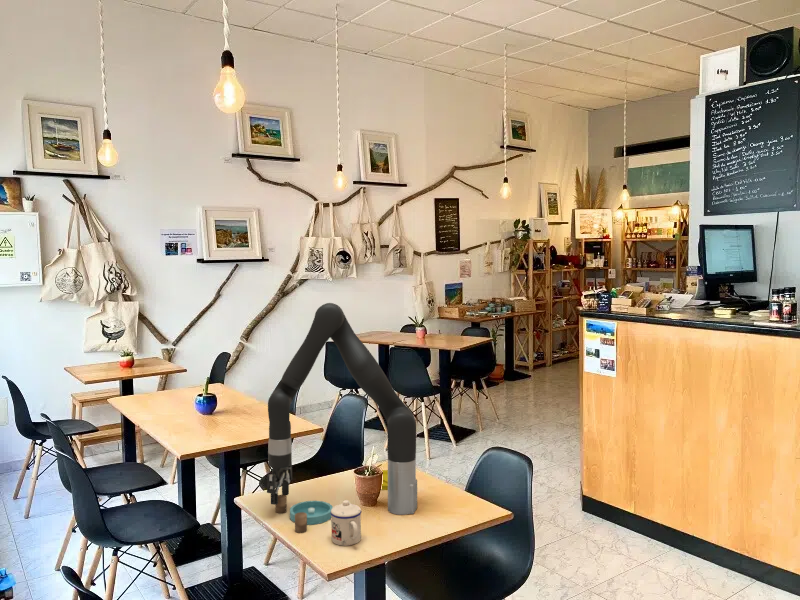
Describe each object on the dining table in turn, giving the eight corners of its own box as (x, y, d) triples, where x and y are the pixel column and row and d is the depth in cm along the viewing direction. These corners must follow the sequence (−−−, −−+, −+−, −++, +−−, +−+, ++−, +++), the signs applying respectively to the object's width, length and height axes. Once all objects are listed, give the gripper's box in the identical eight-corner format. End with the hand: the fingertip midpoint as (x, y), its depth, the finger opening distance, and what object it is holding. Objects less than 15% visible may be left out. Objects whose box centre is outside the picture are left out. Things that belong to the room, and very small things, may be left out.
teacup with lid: (326, 536, 192) (325, 498, 191) (354, 530, 196) (353, 493, 195) (341, 553, 181) (341, 513, 180) (370, 546, 185) (370, 507, 184)
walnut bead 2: (308, 528, 197) (308, 512, 197) (304, 533, 194) (304, 517, 193) (297, 527, 198) (297, 511, 198) (293, 532, 195) (292, 516, 194)
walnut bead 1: (288, 510, 212) (288, 495, 211) (283, 514, 208) (283, 499, 208) (278, 509, 213) (278, 494, 212) (273, 513, 209) (273, 498, 209)
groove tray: (338, 509, 212) (338, 502, 212) (323, 526, 198) (323, 519, 198) (300, 506, 215) (299, 499, 215) (283, 522, 202) (282, 515, 202)
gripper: (281, 458, 201) (281, 509, 202) (299, 445, 215) (299, 492, 216) (259, 456, 203) (259, 506, 204) (278, 443, 217) (278, 490, 218)
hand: (279, 499), depth 210 cm, fingers open, 8 cm apart
